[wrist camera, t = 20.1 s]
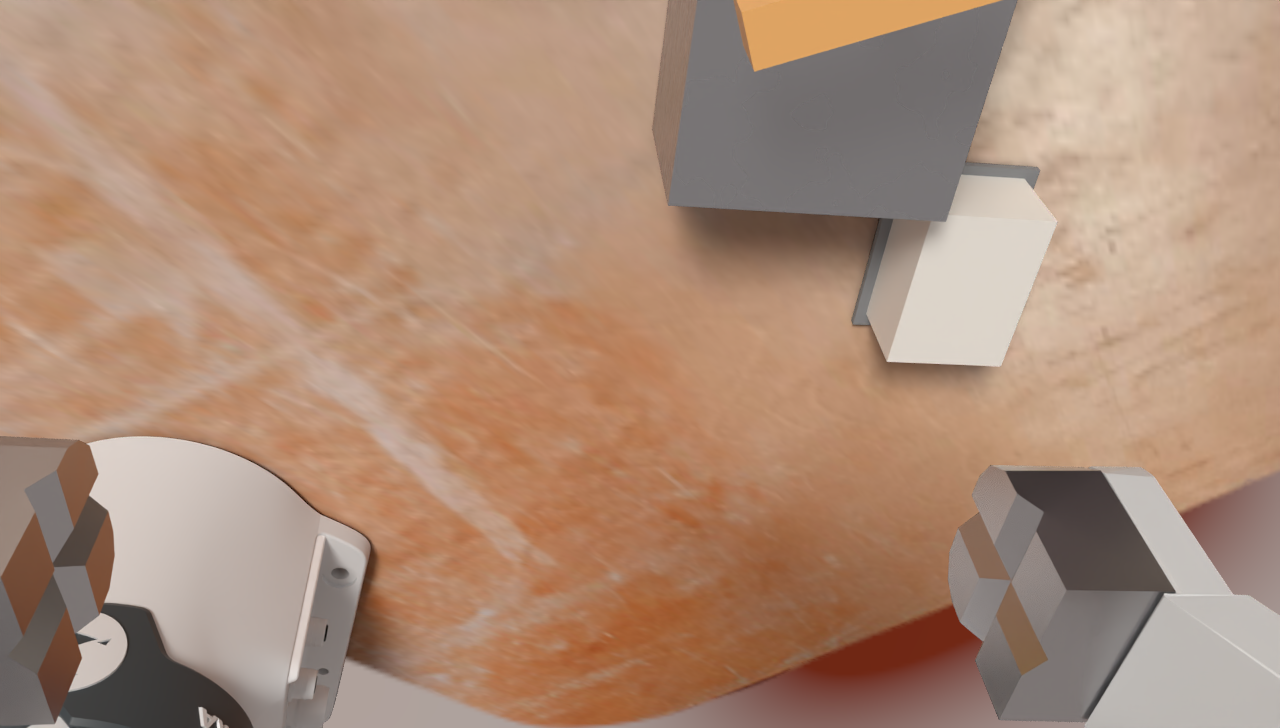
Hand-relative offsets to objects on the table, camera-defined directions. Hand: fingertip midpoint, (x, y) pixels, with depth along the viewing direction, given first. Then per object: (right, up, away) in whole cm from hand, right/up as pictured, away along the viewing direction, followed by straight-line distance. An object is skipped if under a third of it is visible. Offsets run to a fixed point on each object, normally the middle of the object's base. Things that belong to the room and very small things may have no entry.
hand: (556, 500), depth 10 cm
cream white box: (+14, +6, +36) cm, 39 cm away
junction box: (+7, +15, +28) cm, 33 cm away
